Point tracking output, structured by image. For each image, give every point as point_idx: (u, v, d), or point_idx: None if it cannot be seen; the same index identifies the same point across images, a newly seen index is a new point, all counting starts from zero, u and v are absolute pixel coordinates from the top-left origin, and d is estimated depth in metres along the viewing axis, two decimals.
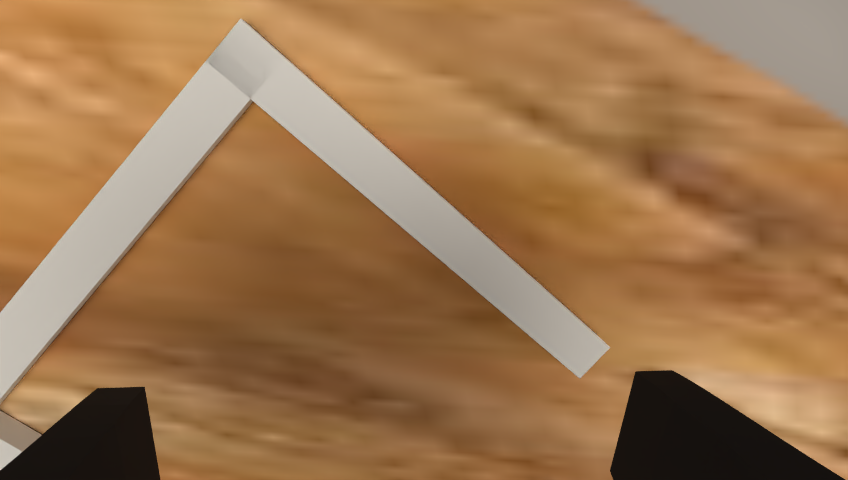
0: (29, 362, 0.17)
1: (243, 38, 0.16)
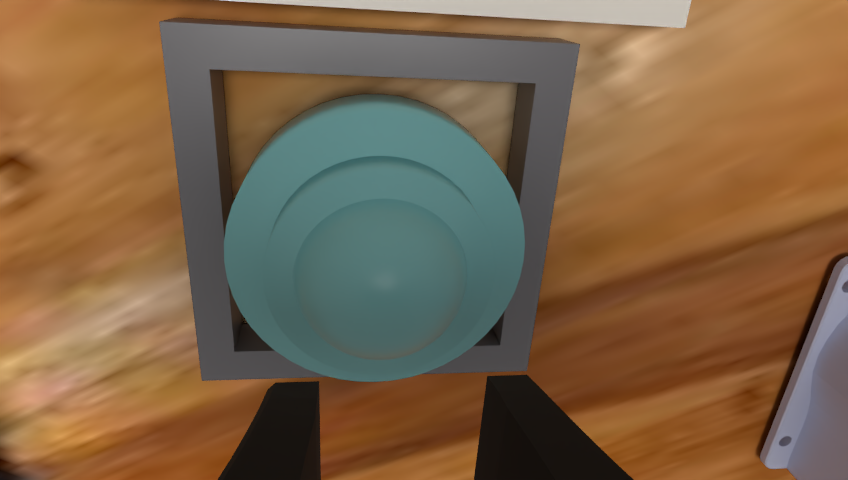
0: None
1: None
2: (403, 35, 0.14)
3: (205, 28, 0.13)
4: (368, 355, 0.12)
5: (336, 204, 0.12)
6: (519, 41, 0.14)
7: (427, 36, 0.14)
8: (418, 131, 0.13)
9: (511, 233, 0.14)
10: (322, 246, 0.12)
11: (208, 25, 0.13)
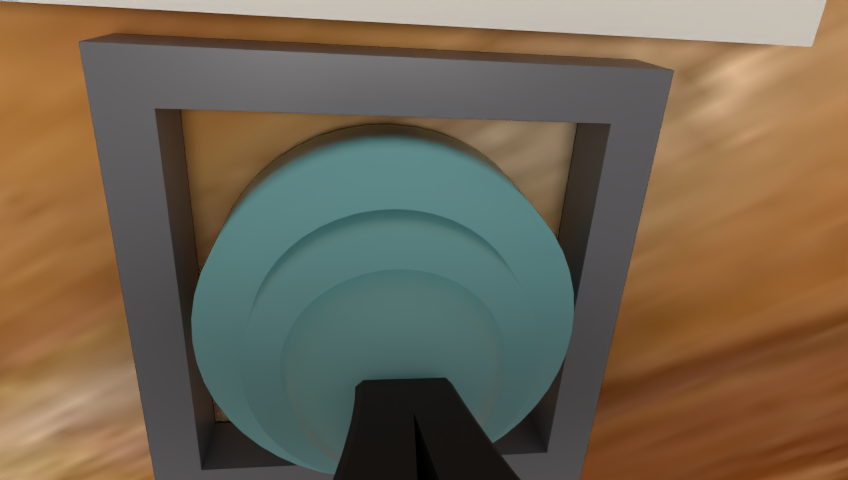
0: None
1: None
2: (430, 59, 0.10)
3: (146, 51, 0.09)
4: None
5: (336, 277, 0.09)
6: (591, 66, 0.10)
7: (463, 60, 0.10)
8: (442, 178, 0.10)
9: (557, 301, 0.11)
10: (317, 335, 0.09)
11: (150, 46, 0.09)
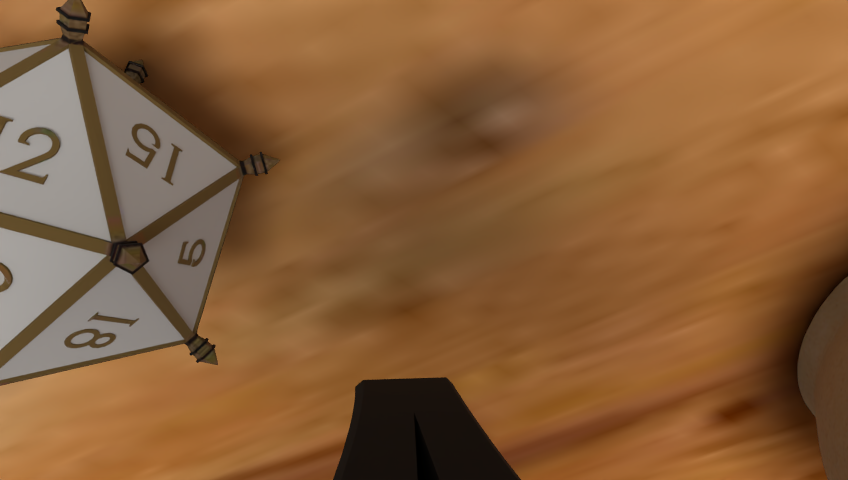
0: None
1: None
2: None
3: None
4: None
5: None
6: None
7: None
8: None
9: None
10: None
11: None
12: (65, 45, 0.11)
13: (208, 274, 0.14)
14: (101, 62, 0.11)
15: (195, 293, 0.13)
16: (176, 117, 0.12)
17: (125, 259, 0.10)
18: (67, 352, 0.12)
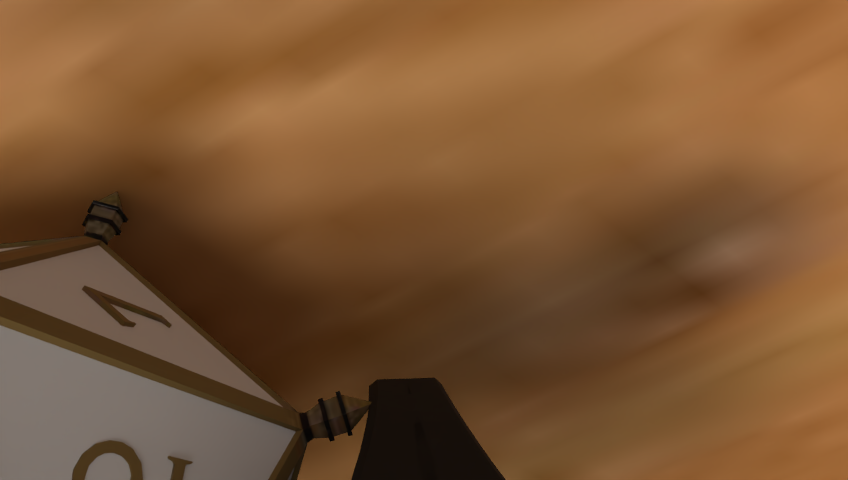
0: None
1: None
2: None
3: None
4: None
5: None
6: None
7: None
8: None
9: None
10: None
11: None
12: None
13: None
14: None
15: None
16: (178, 382, 0.06)
17: None
18: None
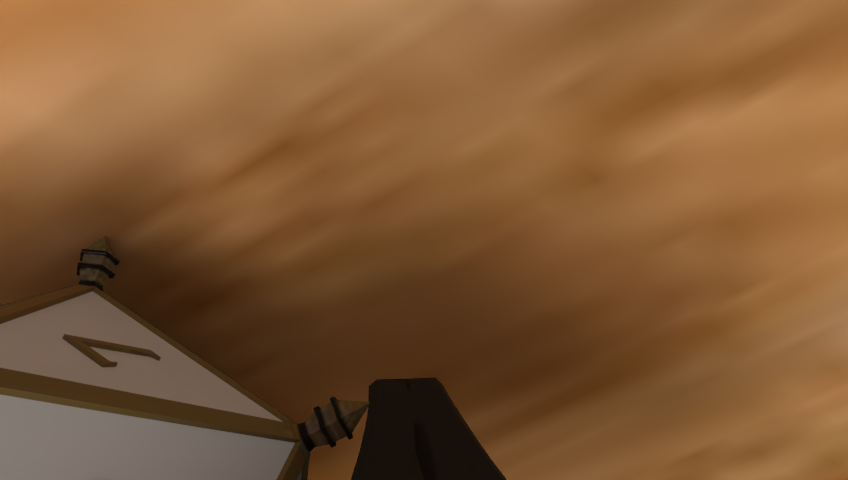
0: None
1: None
2: None
3: None
4: None
5: None
6: None
7: None
8: None
9: None
10: None
11: None
12: None
13: None
14: None
15: None
16: (158, 414, 0.06)
17: None
18: None
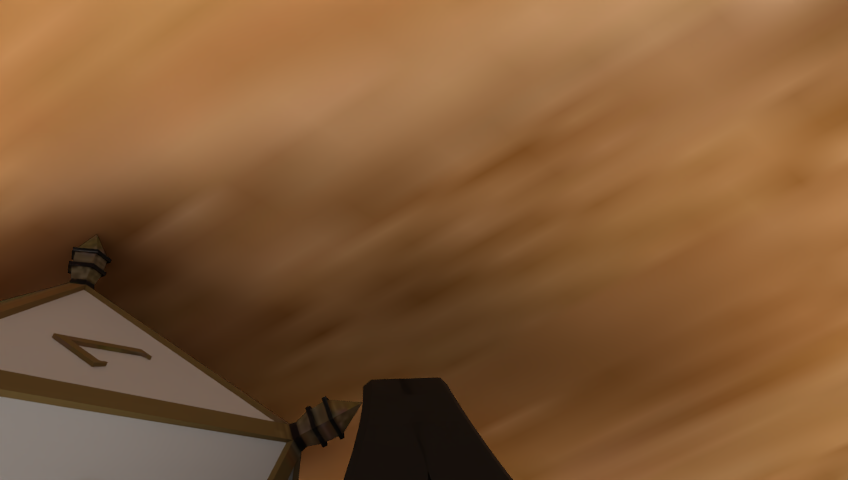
0: None
1: None
2: None
3: None
4: None
5: None
6: None
7: None
8: None
9: None
10: None
11: None
12: None
13: None
14: None
15: None
16: (148, 414, 0.06)
17: None
18: None
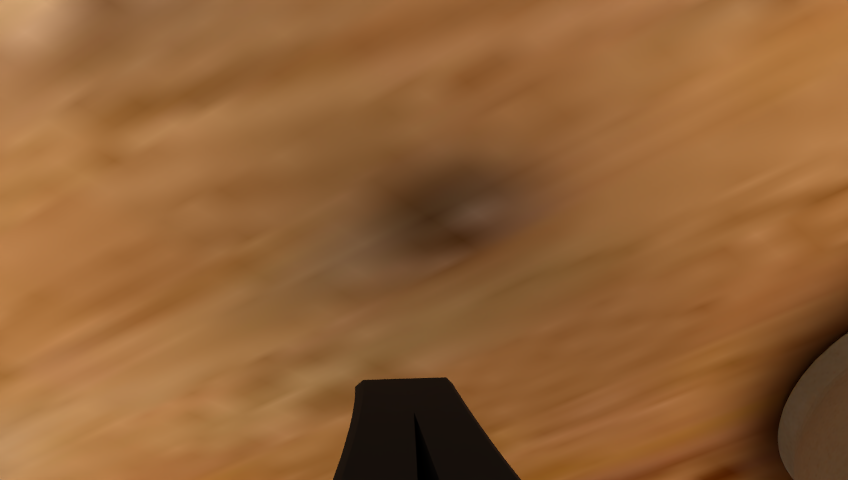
0: None
1: None
2: None
3: None
4: None
5: None
6: None
7: None
8: None
9: None
10: None
11: None
12: None
13: None
14: None
15: None
16: None
17: None
18: None
